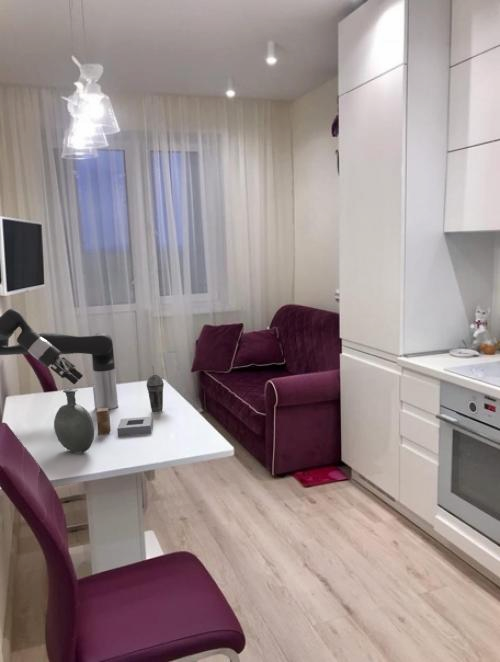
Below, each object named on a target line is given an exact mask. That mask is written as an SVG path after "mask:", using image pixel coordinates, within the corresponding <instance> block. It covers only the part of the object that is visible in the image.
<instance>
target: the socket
mask: <svg viewBox="0 0 500 662" xmlns="http://www.w3.org/2000/svg"><path fill="white" fill-rule="evenodd" d="M153 419H154V418H153V416H151V415H150V416H141V417H129V418H128V417H127V418H120V421H119V422H118V425H117V428H116V429H117V436H118V437H125V436H138V435H146V434H147V435H148V434H149V433H150V434H152V431H153V425H154V421H153ZM150 434H149V435H150Z"/></svg>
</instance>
